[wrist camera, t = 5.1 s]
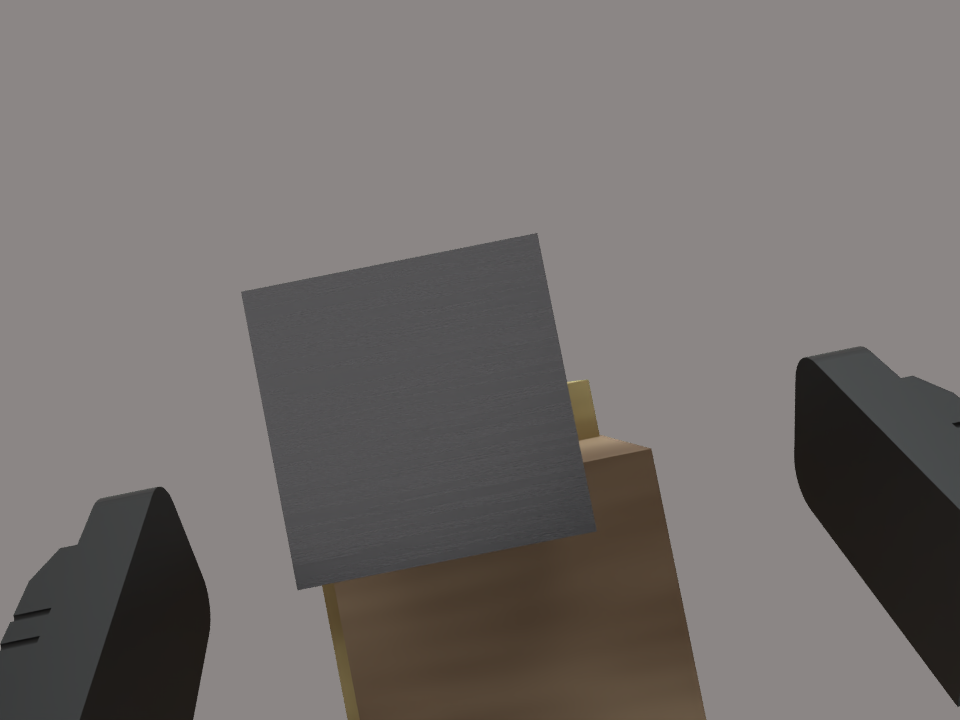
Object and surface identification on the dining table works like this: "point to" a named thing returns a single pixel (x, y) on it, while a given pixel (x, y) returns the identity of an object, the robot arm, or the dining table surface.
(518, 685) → the brown patterned paper bag
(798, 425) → the robot arm
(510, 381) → the dark grey bar
